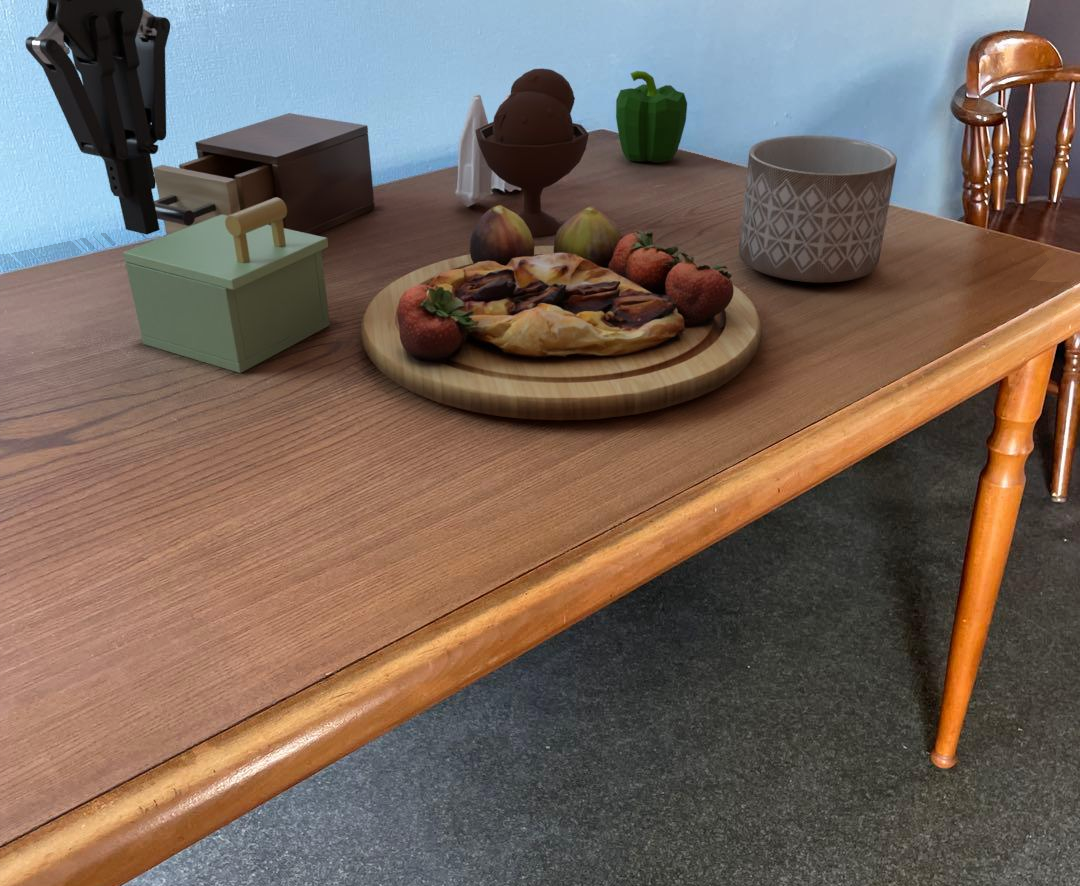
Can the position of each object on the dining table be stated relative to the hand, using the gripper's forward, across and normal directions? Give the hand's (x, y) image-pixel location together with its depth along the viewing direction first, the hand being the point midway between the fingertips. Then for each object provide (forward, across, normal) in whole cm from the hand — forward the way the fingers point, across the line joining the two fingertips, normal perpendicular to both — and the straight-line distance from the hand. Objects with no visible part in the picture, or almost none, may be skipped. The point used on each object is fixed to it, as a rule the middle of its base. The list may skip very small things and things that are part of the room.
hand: (142, 229), depth 97 cm
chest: (+5, +6, +16) cm, 18 cm away
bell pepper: (+5, -58, +22) cm, 63 cm away
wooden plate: (+5, -8, +39) cm, 40 cm away
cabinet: (+5, -19, 0) cm, 20 cm away
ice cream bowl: (+5, -30, +23) cm, 38 cm away
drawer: (+4, -11, 0) cm, 11 cm away
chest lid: (-2, +5, +16) cm, 17 cm away
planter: (+5, -33, +51) cm, 61 cm away
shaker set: (+5, -36, +14) cm, 38 cm away
